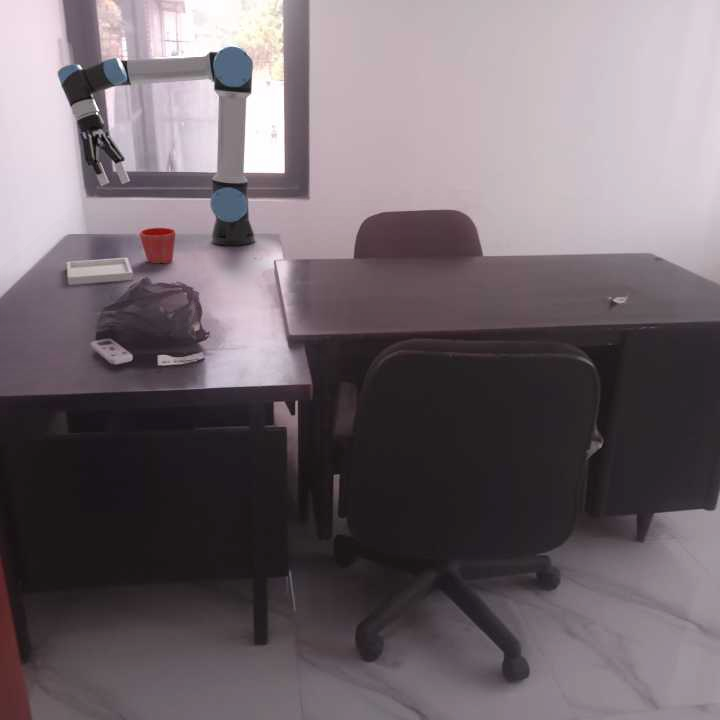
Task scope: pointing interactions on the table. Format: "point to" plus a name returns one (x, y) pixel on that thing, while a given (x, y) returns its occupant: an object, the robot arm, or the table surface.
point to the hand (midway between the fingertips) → (115, 183)
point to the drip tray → (99, 271)
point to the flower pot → (158, 244)
